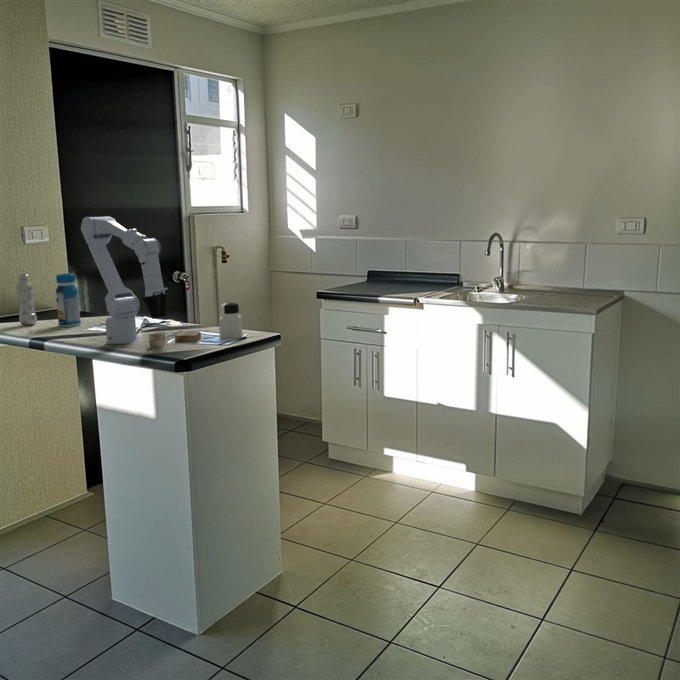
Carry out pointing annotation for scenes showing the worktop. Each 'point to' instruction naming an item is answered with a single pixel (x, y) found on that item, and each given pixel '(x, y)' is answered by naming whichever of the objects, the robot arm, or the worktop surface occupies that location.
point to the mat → (186, 343)
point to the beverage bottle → (67, 301)
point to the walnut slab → (187, 337)
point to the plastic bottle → (26, 301)
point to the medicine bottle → (230, 321)
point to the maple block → (157, 339)
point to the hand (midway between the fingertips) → (159, 317)
